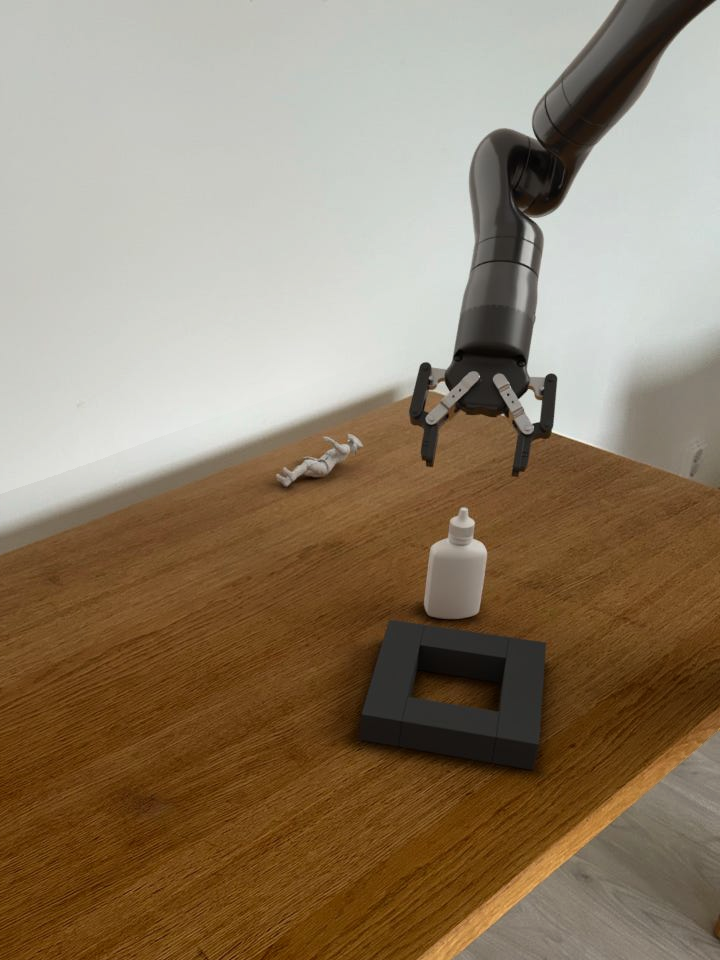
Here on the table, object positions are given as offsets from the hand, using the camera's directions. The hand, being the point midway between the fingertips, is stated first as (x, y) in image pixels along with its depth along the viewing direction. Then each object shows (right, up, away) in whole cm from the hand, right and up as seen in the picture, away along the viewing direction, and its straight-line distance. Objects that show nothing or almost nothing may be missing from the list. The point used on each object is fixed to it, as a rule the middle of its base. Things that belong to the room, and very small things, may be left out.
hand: (472, 469), depth 102 cm
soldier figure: (-13, +4, +30) cm, 33 cm away
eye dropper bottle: (-1, -14, +4) cm, 15 cm away
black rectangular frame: (-4, -23, -8) cm, 25 cm away
